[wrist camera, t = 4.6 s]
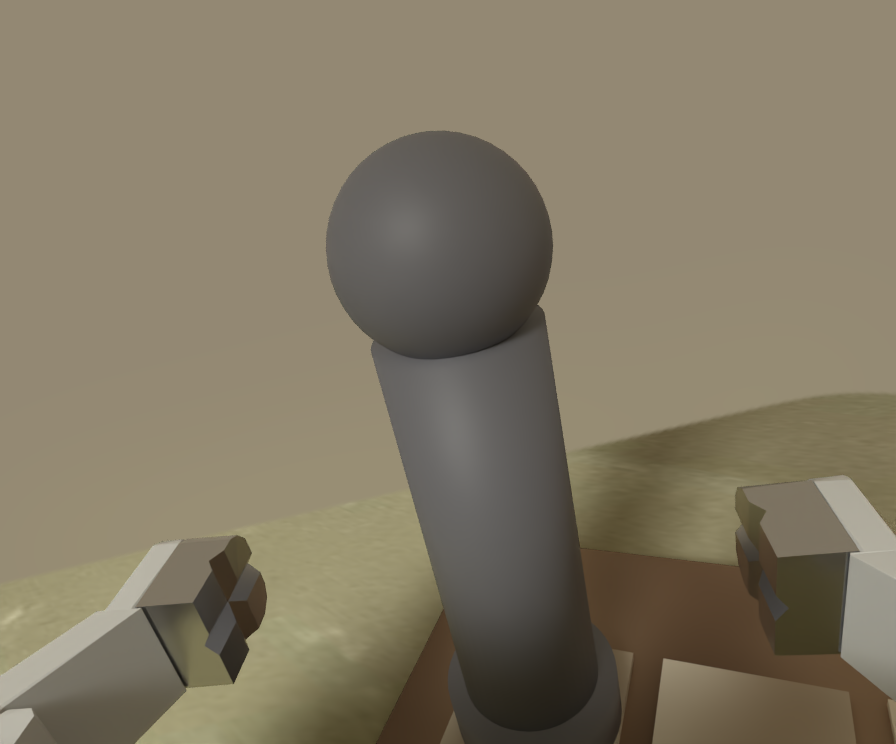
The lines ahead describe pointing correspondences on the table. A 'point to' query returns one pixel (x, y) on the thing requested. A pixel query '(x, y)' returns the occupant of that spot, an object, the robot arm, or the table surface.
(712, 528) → the table surface
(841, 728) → the track board
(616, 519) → the table surface
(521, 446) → the pawn
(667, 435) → the table surface
